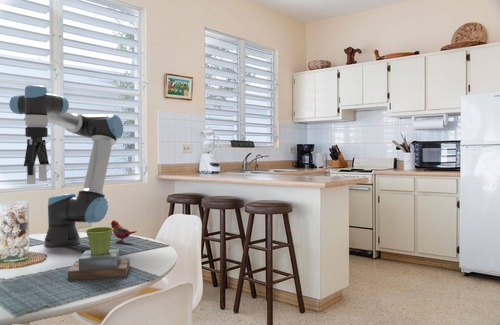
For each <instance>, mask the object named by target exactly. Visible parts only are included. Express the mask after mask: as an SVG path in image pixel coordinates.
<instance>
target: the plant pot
mask: <svg viewBox="0 0 500 325" xmlns="http://www.w3.org/2000/svg"><path fill="white" fill-rule="evenodd" d="M85 233H86V235H87V236H86V237H88V238H87V239H88V244H89V250H90V251H91V254H92V255H101V254H104V255H105V254H107V253H109V249H111V247H110V246H111V239H112V234H113V228H112V227H110V226H108V227H107V226H103V227H102V226H98V227H97V226H96V227H92V228H87V229H85Z"/></svg>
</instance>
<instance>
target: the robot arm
mask: <svg viewBox="0 0 500 325" xmlns="http://www.w3.org/2000/svg"><path fill="white" fill-rule="evenodd" d="M8 105H9V108H10V111H12V113H13V114H18V115H24V116H25V117H23V121H24V122H25V123H24V124H25V134H24V135H25V137H26V138H28V139H27V140H26V149H25V156H24V160H23V161H24V162H23V167H26V184H27V185H36V184H37V182H36V179H37V178H36V174H37V173H36V172H37V171H36V166H35V165H36V160H37V159H38V163H39V164H38V181H39V182H47V180H48V177H47V176H48V173H47V172H48V171H47V168H48V167H47V165H49V164H50V161H49V158H48V152H47V147H46V146H47V145H46V139H43V138H48V136H49V134H48V127H47V126H48V123H50V124H53V125H55V126H59V127H61V128H65V129H66V130H67V132H69V133H71V134H74V135H78V136H80V137H84V138H88V139H89V138H90V139H91V140H92V141H93V143H92V148H91V153H90V157H89V161H88V165H87V170H86V176H85V179H84V182H83V183H84V184H83V188H82V189H80V190H79V191H78V194H77V196H76V194H75V193H74V192H73V193H65V194H59V195H58V194H57V195H51V196H49V198H48V201H47V202H48V203H47V215H48V216H47V218H48V220H47V222H48V223H47V224H48V228H47V231H46V235H45V238H44V242H43V243H44V247H49V248H62V247H63V248H65V247H70V246H75V245H78V244H80V243H81V237H80V233H79V231H78V229H77V225H76V223H88V224H95V223H99V222H101V221H102V220H103V219H104V218H105V217H106V215H107V212H108V209H109V205H108V204H109V203H108V200H107V198H105V197H106V195H105V194H104V192H103V191H104V185H105V181H106V176H107V172H108V168H109V161H110V157H111V152H112V147H113V145H116V143H117V140H118V139H120V138H122V137H123V135H124V125H123V121H122V119H121V118H120V117H119V116H118V115H116V114H110V113H107V114H79V113H76V112H73V113H71V112H69V111H68V110H69V107H70V104H69V100H68V99H67V97H65V96H62V95H60V94H53V93H48V88H47V87H46V86H43V85H38V84H36V85H35V84H33V85H31V84H30V85H26V86H25V87H24V94H23V95H22V94H20V95H14V96H12V97H11V98H10V99H9V104H8Z"/></svg>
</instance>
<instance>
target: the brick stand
mask: <svg viewBox="0 0 500 325" xmlns="http://www.w3.org/2000/svg"><path fill="white" fill-rule="evenodd" d="M120 254H121V253H120V248H109V253H107V254H105V255H104V254H101V255H92V254H91V251H90V249H86V250H84V252H83V253H82V254H81V255H80V256H79V257H78V260H76V261H75V262H74V263H73V264H72V266H71V267H70V268H69V269H68V270H67V281H73V280H76V281H77V280H94V279H95V280H96V279H111V278H114V279H115V278H126V277H127V275H128V271H129V269H130V258H121V256H120Z"/></svg>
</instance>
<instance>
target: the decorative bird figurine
mask: <svg viewBox="0 0 500 325" xmlns="http://www.w3.org/2000/svg"><path fill="white" fill-rule="evenodd" d="M110 225H111V228H113V231H112V234H114V236H115V237H116V238H118V240H116V241H117V242H119V243H120V242H121V243H125V241H124V239H126V238H128V237H130V235H132V234H135V233H137V232H138V231H137V230H135V231H134V230H133V231H130V230H128V229H127V228H125V227H124V226H122V225H121V224H119V222H118V221H117V220H112V221H111V222H110Z"/></svg>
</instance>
